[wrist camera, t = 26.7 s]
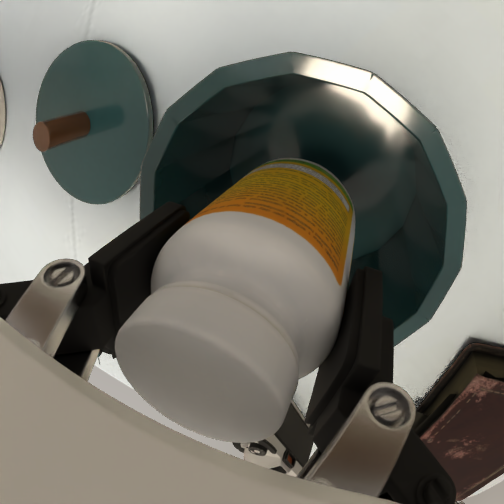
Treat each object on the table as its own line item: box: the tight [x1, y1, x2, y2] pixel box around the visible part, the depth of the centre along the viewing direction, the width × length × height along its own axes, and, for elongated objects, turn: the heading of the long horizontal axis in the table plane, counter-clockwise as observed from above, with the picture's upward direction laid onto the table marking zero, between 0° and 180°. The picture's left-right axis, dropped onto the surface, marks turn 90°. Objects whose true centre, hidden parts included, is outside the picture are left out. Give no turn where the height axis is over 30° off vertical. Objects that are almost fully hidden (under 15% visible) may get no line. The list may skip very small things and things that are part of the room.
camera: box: [232, 400, 314, 477], centre depth 31 cm, size 13×8×9 cm, turn 32°
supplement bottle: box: [115, 158, 355, 443], centre depth 10 cm, size 5×5×10 cm
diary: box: [412, 343, 504, 501], centre depth 24 cm, size 19×25×5 cm
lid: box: [33, 40, 153, 204], centre depth 22 cm, size 15×15×6 cm
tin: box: [140, 52, 467, 346], centre depth 16 cm, size 14×14×10 cm
